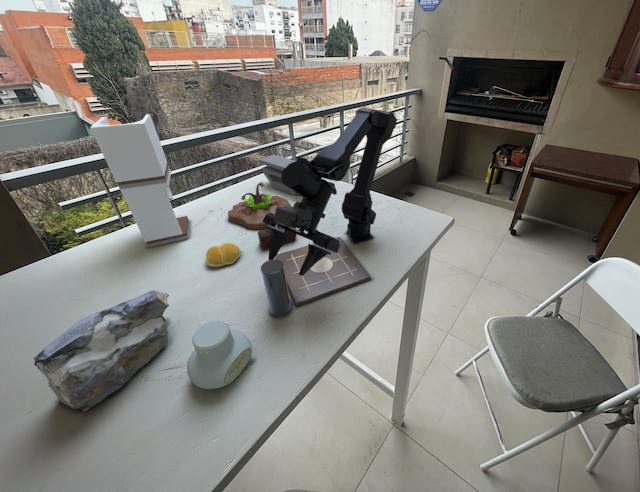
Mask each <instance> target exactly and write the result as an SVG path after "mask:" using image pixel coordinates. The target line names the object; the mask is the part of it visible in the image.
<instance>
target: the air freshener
mask: <svg viewBox="0 0 640 492" xmlns="http://www.w3.org/2000/svg"><path fill="white" fill-rule="evenodd" d="M191 340H192V341H191V343H192V346H193V348H194V349H193V351H191V353H190V354H189V355H190V356H189V358H188V359H187V363H186V373H187V376H188V378H189V380H190V381H191V383H192V384H193V385H195V386H196V387H198V388H202V389H205V390H215V389H219V388H223V387H225V386H228V385H230V384H231V383H232V382H233V381H234V380H235V379H237V377H239V375H240V374H241V373H242V372H243V370H244V369H245V367H246V366H247V364H248V362H249V361H250V358H251V356H252V353H253V346H252V343H251V340H250V338H249V337H248V336H247V334H245V333H244V332H243V331H240V330H237V329H231V328H230V326H229V324H228V323H227V322H226V321H224V320H218V319H217V320H211V321H208V322H205V323H204V324H202V325H201V326H200V327H198V329H197V330H195V332H194V334H193V336H192V339H191Z"/></svg>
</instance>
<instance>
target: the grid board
mask: <svg viewBox="0 0 640 492" xmlns="http://www.w3.org/2000/svg"><path fill="white" fill-rule="evenodd" d="M334 238H335V239H337V240H339V242H340V248H339V250H338V252H337V253H335V252H333V251H330V253H331V255H329V254H327V255H326V256H324V257H323V258H322V259H321V260H319V261H318V262H317V263H316V264H315V265H314V266H313V267H311V268H310V269H309V270H308V271H307V272H306V273H305V274H304V275H303V276H300V275H299V273H300V270H301V267H302V265H303V263H304V260H305V258H306V256H307V254H308V245H306V246H302V247H298V248H295V249H292V250H287V251H284V252H280V253H277V255H276V257H275V259H277V260H280V261H282V262H283V264H284V270H285V276H286V282H287V288H288V290H289V291H290V294H291V296H292V298H293V301H294V303H295V305H296V307H298V306H300V305H303V304H306V303H309V302H312V301H315V300H317V299H320V298H323V297H325V296H328V295H331V294H334V293H337V292H340V291H343V290H345V289H348V288H350V287H354V286H356V285H359V284H362V283H364V282H366V281H370V280H371V275H370V273H368V271H367V270H366V269H365V267H364V266H363V265H362V263H361V262H360V261H359V260H358V258H357V257H356V255H354V253H353V252H352V251H351V249H350V248H349V247H348V245H347V244H346V243H345V241H343V239H342V238H341V236H338V237H334ZM311 245H314V243H312V244H311Z"/></svg>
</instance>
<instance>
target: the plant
mask: <svg viewBox="0 0 640 492" xmlns="http://www.w3.org/2000/svg"><path fill="white" fill-rule="evenodd" d="M259 187H261V188H262V187H265V182H262V181H261V182H259V183H257V185H256V188H255V193H253V192H252V193H251V192H246V193H245V194H243V195H242V196H241V197H240V199H241V200H242V201H240V202H238V203H237V204H234V205H232V209H230V210H228V211H227V216H228V219H229V221H230V222H232V223H235V224H240V225H242V226H245V227H246V228H247V229H250V230H251V229H252V230H265V229H267V228H265V225H266V226H268V224H266V223H263V222H262V221H263V219H264V217H265V215H266V214H268V213H273V214H275V212H276V207H292V205H291V204H290V202H289V200H287V199H286V198H284V197H281V196H279V195H273V193H270V194H267V193H266V194H265V193H264V192H263V193H260V189H259ZM248 195H249V198H246V196H248Z"/></svg>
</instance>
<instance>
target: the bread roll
mask: <svg viewBox="0 0 640 492" xmlns="http://www.w3.org/2000/svg"><path fill="white" fill-rule="evenodd" d="M241 253H242V252H241V248H240V247H239V246H238V245H237V244H235V243H231V242H230V243H229V242H227V243H223V244H221V245H220V246H219V245H213V246H211V247H209V248H208V249H207V250H206V253H205V262H206V265H207V266H208V267H213V268H220V267H223V266H227V265H228V266H229V265H233V264H234V263H236V261H238V259H239V258H240V256H241Z"/></svg>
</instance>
